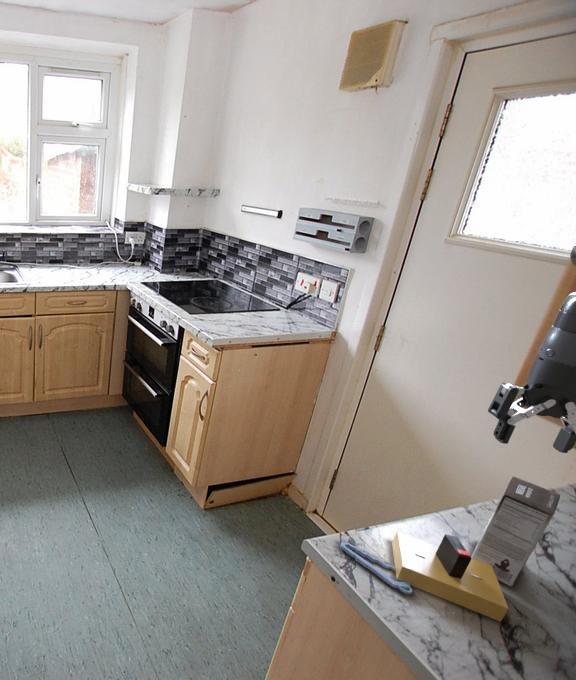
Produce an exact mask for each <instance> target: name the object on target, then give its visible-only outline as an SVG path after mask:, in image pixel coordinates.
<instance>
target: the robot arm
mask: <svg viewBox="0 0 576 680" xmlns="http://www.w3.org/2000/svg"><path fill="white" fill-rule="evenodd" d="M569 258H570V262H571V264H572V266H573V267H574V268H576V244H575V245H574V246H573V247H572V249H571V251H570V257H569ZM519 396H521V397H519ZM524 407H525V408H524ZM487 412H488V413H489V414H491V415H492V416H493V417H494V418H496V419H497V424H496V425H495V428H494V430H493V436H494V438H495V440H497V441H498V442H499V443H500V444H505V445H507V444H509V442H510V439H511V438H512V435H513V434H514V430H515V428H516V424H517V423H519V422H521V421H523V420H524V419H531V418H532V417H534V416H536V415H537V416H539V417H551V418H554V419H560V421H561V423H562V426H563V427H561V428H560V429H559V430H558V433H557V436H556V438H555V440H554V442H553V443H552V447H553V449H555V450H556V451H557V452H559V453H561V454H567V453H568V452H569V451H571V450H573V448H574V446H575V444H576V291H575V292H571V293H569V294H568V295H567V296H566V297H565V298H564V299H563V301H562V303H561V305H560V307H559V310H558V311H557V314H556V316H555V318H554V321H553V323H552V325H551V327H550V329H549V331H548V332H547V333H546V335H545V336H544V338H543V340H542V342H541V345H540V347H539V349H538V351H537V353H536V355H535V358H534V360H533V362H532V364H531V367H530V368H529V371H528V374H527V382H526V383H525V384H524V385H522V386H518V385H514V384H511V383H510V382H507V381H504V382H501V384H500V385H499V387H498V389H497V391H496V393H495V395H494V397H493V398H492V401H491V402H490V405H489V407H488V408H487Z"/></svg>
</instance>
